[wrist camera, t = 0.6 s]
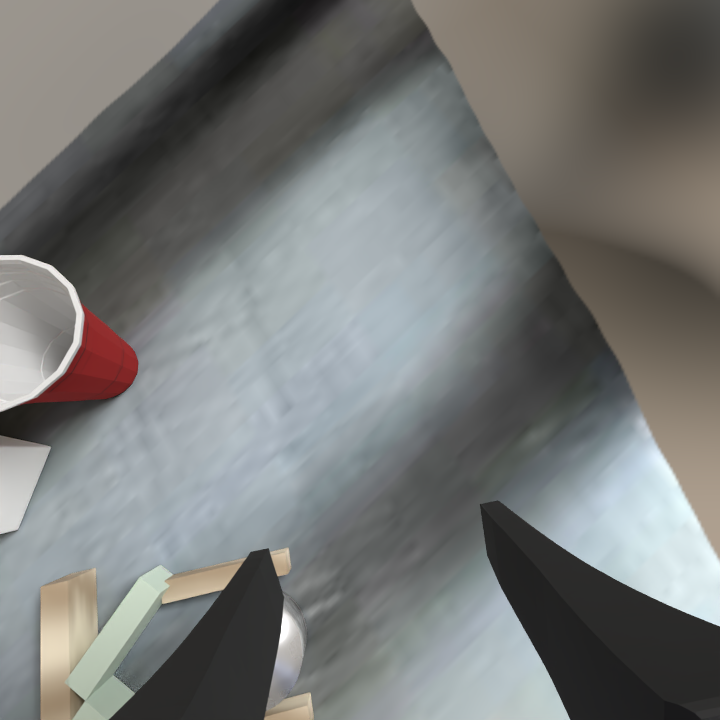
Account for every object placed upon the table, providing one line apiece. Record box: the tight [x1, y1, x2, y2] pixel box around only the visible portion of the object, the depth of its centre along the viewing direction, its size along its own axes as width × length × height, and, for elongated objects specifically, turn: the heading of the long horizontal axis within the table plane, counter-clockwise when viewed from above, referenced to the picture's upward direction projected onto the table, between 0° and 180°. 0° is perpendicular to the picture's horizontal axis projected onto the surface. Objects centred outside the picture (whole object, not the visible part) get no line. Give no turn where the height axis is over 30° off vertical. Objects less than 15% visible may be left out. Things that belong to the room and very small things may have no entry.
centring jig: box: [41, 548, 314, 720], centre depth 27 cm, size 16×18×3 cm
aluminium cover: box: [266, 592, 307, 711], centre depth 28 cm, size 7×7×3 cm
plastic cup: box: [0, 255, 138, 412], centre depth 28 cm, size 11×11×12 cm
